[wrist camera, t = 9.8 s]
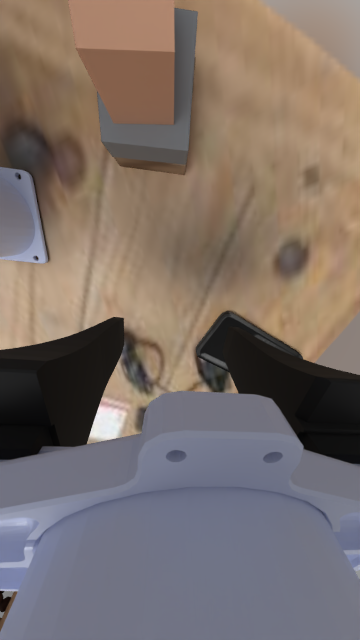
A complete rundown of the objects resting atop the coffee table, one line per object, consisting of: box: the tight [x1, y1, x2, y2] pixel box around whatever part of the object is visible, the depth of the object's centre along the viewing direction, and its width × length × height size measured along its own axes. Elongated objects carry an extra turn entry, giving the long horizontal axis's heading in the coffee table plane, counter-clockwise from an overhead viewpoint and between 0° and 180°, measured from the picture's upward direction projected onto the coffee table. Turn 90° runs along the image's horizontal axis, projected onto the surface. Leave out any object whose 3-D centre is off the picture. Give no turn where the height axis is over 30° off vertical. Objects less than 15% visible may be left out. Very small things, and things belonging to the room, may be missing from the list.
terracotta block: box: [68, 0, 175, 125], centre depth 9 cm, size 4×4×5 cm
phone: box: [196, 311, 303, 372], centre depth 26 cm, size 8×1×15 cm
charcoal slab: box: [97, 8, 198, 165], centre depth 12 cm, size 6×6×2 cm
